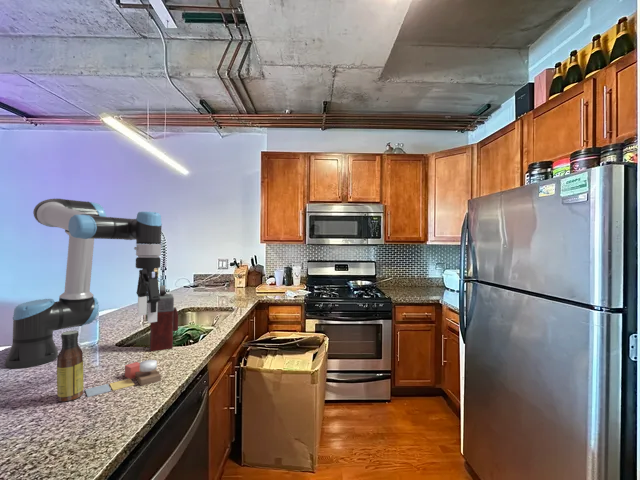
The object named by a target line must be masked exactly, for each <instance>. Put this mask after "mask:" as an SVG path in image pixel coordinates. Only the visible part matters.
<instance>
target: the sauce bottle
mask: <svg viewBox="0 0 640 480" xmlns="http://www.w3.org/2000/svg"><path fill="white" fill-rule="evenodd" d="M60 335H61V336H60V338H61V349H60V351H59V352H58V357H57V358H56V361H57V362H56V391H57V392H56V393H57V400H58V401H59V402H64V403H65V402H70V401H75V400H77V399H78V398H79V399H80V397H82V396H83V394H84V383H85V382H84V360H83V359H84V358H83V356H84V355H83V350H82V348H80V345H79V342H78V338H79V335H80V334H79V330H68V331H64V332H63V333H61V334H60Z"/></svg>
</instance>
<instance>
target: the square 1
mask: <svg viewBox="0 0 640 480" xmlns="http://www.w3.org/2000/svg"><path fill="white" fill-rule="evenodd" d="M84 391H85V394H86V397H87V398H90V397H94V396H98V395H102V394H106V393H109V392H112V388H111V386H110V384H108V383H106V384H102V385H98V386H93V387H90V388H86V389H85V390H84Z"/></svg>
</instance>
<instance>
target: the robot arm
mask: <svg viewBox="0 0 640 480" xmlns="http://www.w3.org/2000/svg"><path fill="white" fill-rule="evenodd" d="M32 213H33V217H34V219H35V221H36V222H38V223H40V225H43V226H46V227H50V228H59V229H63V230H64V233H66V234H67V236H68V246H67V258H66V259H67V260H66V269H65V270H66V271H65V282H64V283H65V285H64V292H63V293H61V294H60V295H59V296H58V297H59V298H58V301H55V299H53V298H44V299H43V298H42V299H36V300H29V301H27V302H23V303H20V304H18V305H17V306H15V308H14V311H13V315H12V321H13V322H12V343H11V344H12V345H11V346H10V349H9V351H8V353H7V356H6V358H5V360H4V361H5V362H4V366H5V367H6V368H8V369H9V368H10V369H21V368H29V367H30V368H31V367H35V366H39V365H44V364H47V363H51V362H53V361H54V360H57V357H58V354H59V352H58V351H59V350H58V349H57V345H56V343H55V341H54V338H53V337H54V336H53V335H54V331H59V330H65V329H71V328H76V327H82V326H85V325H89V324H91V323H93V322H94V321H95V320H96V318H97V316H98V314H99V309H100V308H99V301H98V299H97V298H96V297H94V294H93V293H92V291H91V280H92V279H91V278H92V269H93V268H92V267H93V257H94V248H95V247H94V245H95V239H96V240H97V239H99V240H102V239H103V240H125V241H134V240H136V241H135V246H134V248H133V249H134V250H135V255H136V258H135V269H139V270H138V281H137V288H136V295H137V316H138V317H140V316H147V319H146V320H147V321H146V322H147V323H148V324H150V323H151V322H157V306H158V301H160V296H159V295H160V286H159V281H158V274H159V273H158V271H155V269H160V268H161V263H162V262H161V257H160V256H161V254H162V244H161V242H162V225H163V223H162V215H161V214H160V213H159V212H155V211H139V212H137V214H136V218H127V217H115V216H114V217H112V216H107V214H106V210H105V209H104V207H103V205H101V204H99V203H96V202H92V201H91V202H90V201H82V200H74V199H64V198H48V199H45V200H41V201H40V202H38V203H37V204H36V205H35V207H34V208H33V212H32Z"/></svg>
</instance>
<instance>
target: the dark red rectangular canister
mask: <svg viewBox="0 0 640 480" xmlns="http://www.w3.org/2000/svg"><path fill="white" fill-rule="evenodd" d="M166 287H167V286H166V285H161V284H160V285H159V296H160V301H158V306H157V322H151V323H149V324H150V331H149V352H151V353H152V352H156V351H157V352H159V351H166V350H172V349H173V345H174V344H173V343H174V332H178V331H179V313H178V309H177V307H175V306H174V305H175V302H174V301H175V297H174V295H173V294H172V293H167V294H166V291H167V290H166Z"/></svg>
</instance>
